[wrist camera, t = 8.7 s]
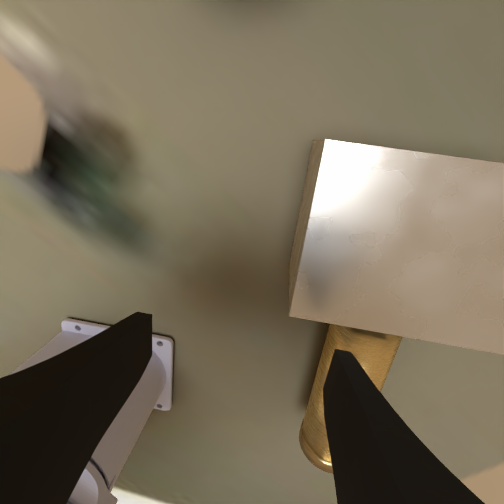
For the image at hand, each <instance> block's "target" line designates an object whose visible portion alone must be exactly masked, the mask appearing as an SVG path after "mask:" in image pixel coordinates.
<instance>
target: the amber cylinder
mask: <svg viewBox="0 0 504 504" xmlns="http://www.w3.org/2000/svg"><path fill="white" fill-rule="evenodd" d="M401 339H402V336H397V335H391V334H385V333H380V332H374V331H369V330H363V329H357V328H352V327H346V326H341V325H335V324H330V326H329V329H328V333H327V337H326V340H325V344H324V348H323V351H322V355H321V358H320V362H319V366H318V369H317V373H316V377H315V380H314V384H313V387H312V391H311V395H310V398H309V402H308V406H307V409H306V413H305V417H304V419H303V421H302V425H301V428H300V433H299V442H300V446H301V449H302V451H303V453H304V454H305V456H306V457H307V458H308V460H309V461H310V462H311V463H312V464H313V465H315V466H316V467H317V468H319V469H321V470H323V471H325V472H328V473H333V468H332V462H331V456H330V450H329V444H328V438H327V432H326V426H325V419H324V406H323V387H324V383H325V380H326V377H327V373H328V370H329V367H330V363H331V360H332V357H333V353H334V350H335V349H339V350H344V351H350V352H352V354H353V355H354V356H355V358H356V359H357V361H358V362H359V363H360V365H361V366H362V368H363V369H364V371H365V372H366V373H367V375H368V376H369V378H370V379H371V380H372V382H373V383H374V384H375V386H376V387H377V389H378V390H379V391H380V392H381V390H382V387H383V385H384V382H385V380H386V377H387V375H388V372H389V370H390V367H391V365H392V362H393V360H394V357H395V355H396V352H397V349H398V347H399V344H400V342H401Z"/></svg>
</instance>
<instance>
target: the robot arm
mask: <svg viewBox="0 0 504 504" xmlns="http://www.w3.org/2000/svg"><path fill="white" fill-rule="evenodd" d="M61 326H62V331H61V332H60V333H59V334H57V335H56V336H55V337H54V338H53V339H51V340H50V341H49V342H48V343H47V344H45V345H44V346H43V347H42V348H40V349H39V350H38V351H37V352H36V353H34V354H33V355H32V356H31V357H30V358H28V359H27V360H26V361H25V362H24V363H22V364H21V365H20V366H19V367H18V368H16V369H15V370H14V371H13V372H11V373H10V374H9V375H8V376H5V377H2V378H0V504H116V503H117V501H118V500H117V498H116V497H114V496H113V495H112V494H111V493H110V492H111V490H112V488H113V486H114V484H115V483H116V481H117V479H118V477H119V475H120V473H121V471H122V469H123V467H124V465H125V463H126V461H127V459H128V457H129V455H130V453H131V451H132V449H133V447H134V445H135V443H136V442H137V440H138V438H139V436H140V434H141V432H142V430H143V428H144V426H145V424H146V422H147V420H148V418H149V416H150V414H151V412H152V410H153V408H154V409H158V410H163V411H168V410H170V408H171V406H172V378H173V340H172V339H171V338H169V337H164V336H159V335H154V334H152V314H146V313H141V312H136V313H134V314H132V315H130V316H129V317H127V318H125V319H123V320H121V321H120V322H118V323H116V324H114V325H113V326H106V325H101V324H96V323H90V322H85V321H80V320H75V319H69V318H66V319H65V320H63V321H62V322H61ZM79 326H80V327H79ZM159 341H161V342H162V343H160V342H159ZM323 406H324V419H325V426H326V432H327V438H328V444H329V450H330V456H331V462H332V468H333V474H334V480H335V487H336V495H337V503H338V504H485V503H483V502H482V501H481V500H480V499H479V498H478V497H477V496H476V495H475V494H474V493H472V492H471V491H470V490H469V489H468V488H467V487H466V486H465V485H464V484H463V483H462V482H461V481H460V480H459V479H458V478H457V477H456V476H455V475H454V474H452V473H451V472H450V471H449V470H448V469H447V468H446V467H445V466H444V465H443V464H442V463H441V462H440V461H439V460H438V459H437V458H436V456H435V455H434V454H433V453H432V452H431V451H430V450H429V449H428V448H427V447H426V446H425V445H424V444H423V443H422V442H421V441H420V440H419V438H418V437H417V436H416V435H415V434H414V433H413V432H412V431H411V429H410V428H409V427H408V426H407V425H406V424H405V422H404V421H403V420H402V419H401V418H400V416H399V415H398V414H397V413H396V412H395V410H394V409H393V408H392V407H391V405H390V404H389V403H388V402H387V400H386V399H385V398H384V396H383V395H382V394H381V392H380V391H379V390H378V389H377V387H376V386H375V384H374V383H373V382H372V380H371V379H370V378H369V376H368V375H367V373H366V372H365V371H364V369H363V368H362V366H361V365H360V363H359V362H358V361H357V359H356V358H355V356H354V355H353V354H352V352H350V351H344V350H339V349H335V350H334V353H333V357H332V360H331V363H330V367H329V370H328V373H327V377H326V380H325V383H324V387H323Z"/></svg>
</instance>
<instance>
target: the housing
mask: <svg viewBox="0 0 504 504" xmlns="http://www.w3.org/2000/svg"><path fill="white" fill-rule="evenodd" d="M289 316H290V317H296V318H301V319H307V320H313V321H318V322H324V323H329V324H335V325H341V326H346V327H352V328H357V329H363V330H369V331H374V332H380V333H385V334H391V335H397V336H402V337H408V338H413V339H419V340H425V341H430V342H436V343H441V344H447V345H453V346H458V347H464V348H469V349H475V350H481V351H486V352H492V353H497V354H503V355H504V163H498V162H490V161H483V160H476V159H468V158H461V157H453V156H446V155H438V154H431V153H423V152H416V151H408V150H401V149H393V148H386V147H379V146H371V145H364V144H356V143H349V142H341V141H334V140H326V139H325V140H313V143H312V148H311V153H310V159H309V164H308V169H307V174H306V179H305V185H304V190H303V195H302V200H301V205H300V211H299V216H298V221H297V226H296V231H295V237H294V242H293V247H292V252H291V257H290V263H289Z"/></svg>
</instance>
